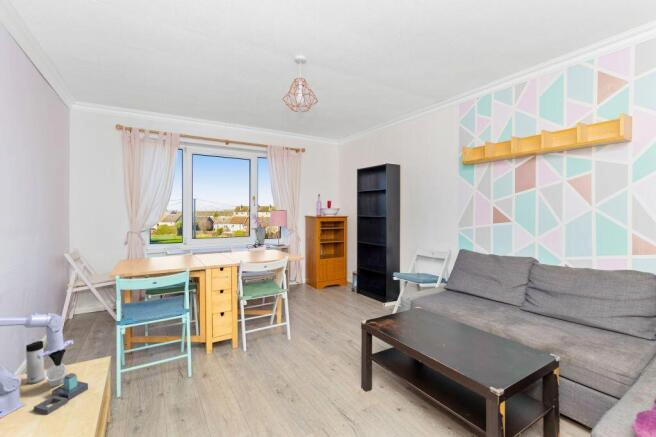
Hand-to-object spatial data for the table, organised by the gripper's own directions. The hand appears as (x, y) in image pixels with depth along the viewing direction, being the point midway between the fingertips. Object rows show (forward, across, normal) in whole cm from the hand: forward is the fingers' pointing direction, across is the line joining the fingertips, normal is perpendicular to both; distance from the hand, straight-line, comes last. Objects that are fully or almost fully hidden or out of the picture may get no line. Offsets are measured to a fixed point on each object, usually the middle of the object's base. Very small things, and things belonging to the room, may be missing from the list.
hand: (57, 365), depth 148 cm
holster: (+11, -12, -11) cm, 20 cm away
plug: (+12, -2, -10) cm, 15 cm away
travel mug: (+11, 0, +17) cm, 20 cm away
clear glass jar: (+10, +2, +5) cm, 11 cm away
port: (+12, -2, -9) cm, 15 cm away
